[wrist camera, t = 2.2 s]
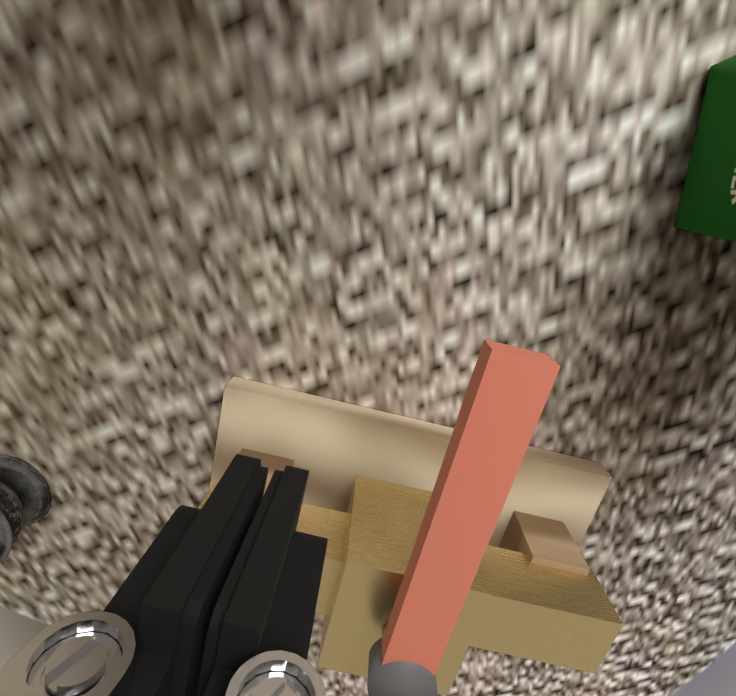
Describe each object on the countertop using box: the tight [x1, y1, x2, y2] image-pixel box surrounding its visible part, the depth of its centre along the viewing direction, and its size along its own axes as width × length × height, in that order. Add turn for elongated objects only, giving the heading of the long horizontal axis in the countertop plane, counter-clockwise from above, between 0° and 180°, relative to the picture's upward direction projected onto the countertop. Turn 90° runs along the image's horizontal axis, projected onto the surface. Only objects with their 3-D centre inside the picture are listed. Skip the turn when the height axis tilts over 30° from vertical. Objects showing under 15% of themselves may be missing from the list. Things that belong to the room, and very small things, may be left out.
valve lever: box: [367, 339, 561, 696], centre depth 15 cm, size 15×3×1 cm, turn 166°
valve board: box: [210, 376, 612, 576], centre depth 25 cm, size 11×22×5 cm, turn 76°
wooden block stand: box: [198, 475, 623, 694], centre depth 21 cm, size 6×20×7 cm, turn 76°
